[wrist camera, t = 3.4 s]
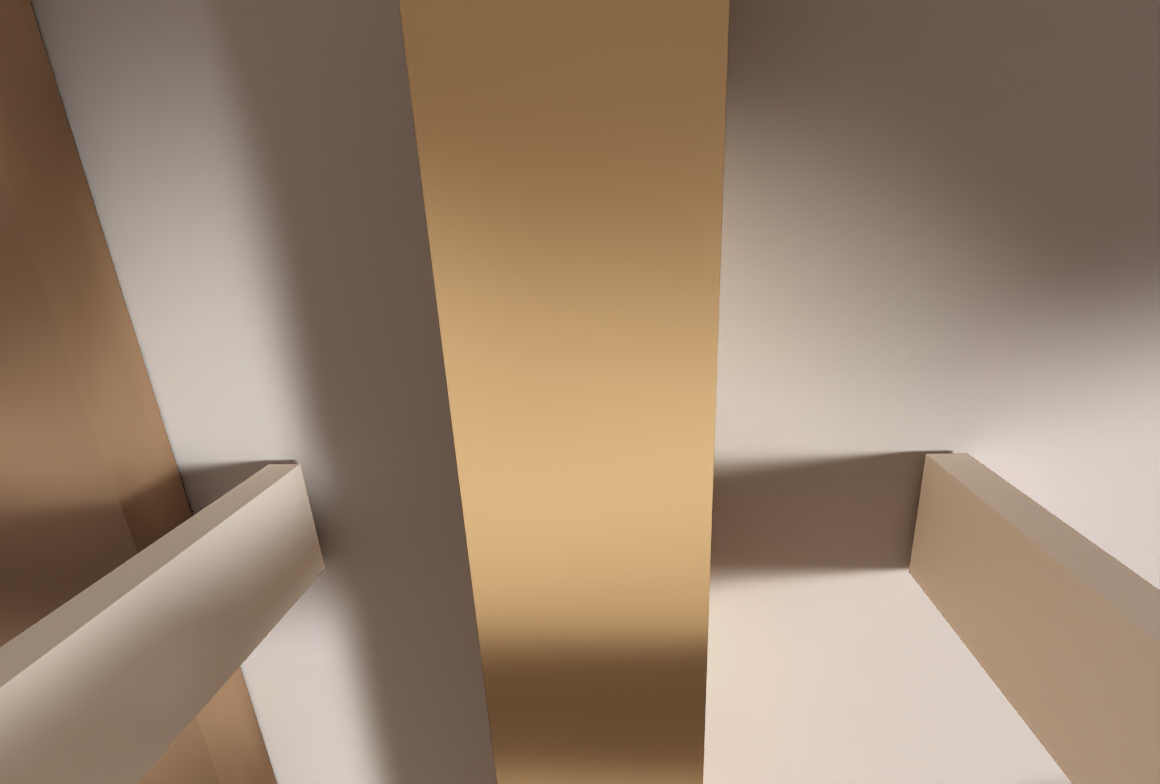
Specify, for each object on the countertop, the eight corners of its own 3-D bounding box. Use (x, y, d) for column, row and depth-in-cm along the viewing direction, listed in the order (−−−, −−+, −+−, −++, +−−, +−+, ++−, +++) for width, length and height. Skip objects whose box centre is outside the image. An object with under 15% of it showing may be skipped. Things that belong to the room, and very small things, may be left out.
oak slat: (493, -179, 9) (314, -668, 4) (687, -203, 8) (754, -770, 3) (570, 865, 16) (541, 1140, 11) (674, 873, 16) (690, 1161, 11)
